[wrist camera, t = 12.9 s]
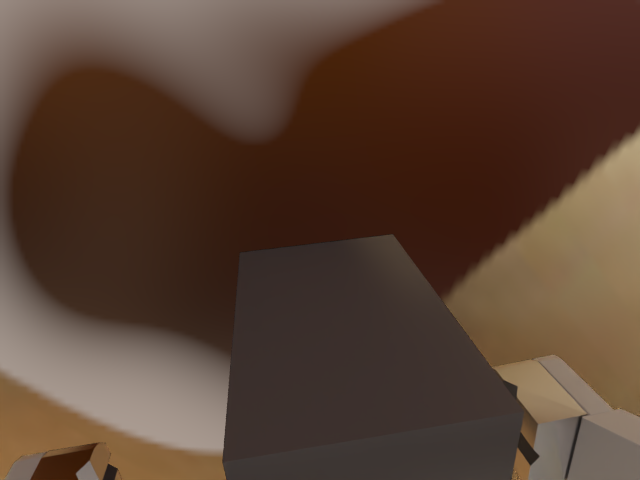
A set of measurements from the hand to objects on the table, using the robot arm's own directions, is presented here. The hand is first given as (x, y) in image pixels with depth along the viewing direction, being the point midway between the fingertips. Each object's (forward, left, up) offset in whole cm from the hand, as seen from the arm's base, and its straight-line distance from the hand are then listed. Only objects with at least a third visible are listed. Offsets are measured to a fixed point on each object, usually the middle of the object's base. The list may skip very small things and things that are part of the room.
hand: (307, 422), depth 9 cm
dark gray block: (-1, -1, -3) cm, 3 cm away
